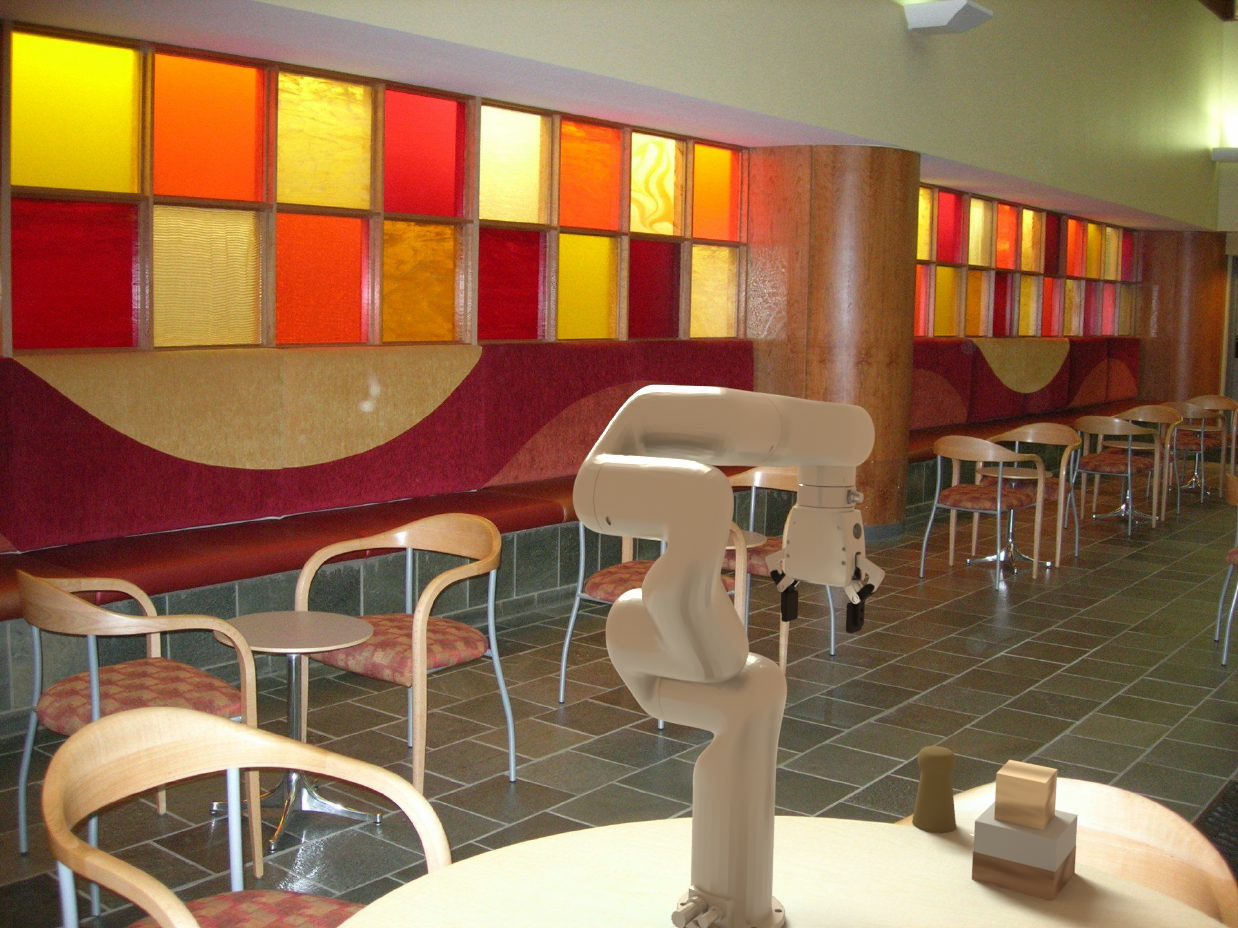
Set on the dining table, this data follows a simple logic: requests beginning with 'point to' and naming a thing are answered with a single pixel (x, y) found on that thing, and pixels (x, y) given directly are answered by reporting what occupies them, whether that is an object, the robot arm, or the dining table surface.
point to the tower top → (1026, 840)
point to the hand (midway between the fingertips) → (821, 625)
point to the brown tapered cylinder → (935, 791)
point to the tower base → (1023, 875)
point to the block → (1025, 794)
